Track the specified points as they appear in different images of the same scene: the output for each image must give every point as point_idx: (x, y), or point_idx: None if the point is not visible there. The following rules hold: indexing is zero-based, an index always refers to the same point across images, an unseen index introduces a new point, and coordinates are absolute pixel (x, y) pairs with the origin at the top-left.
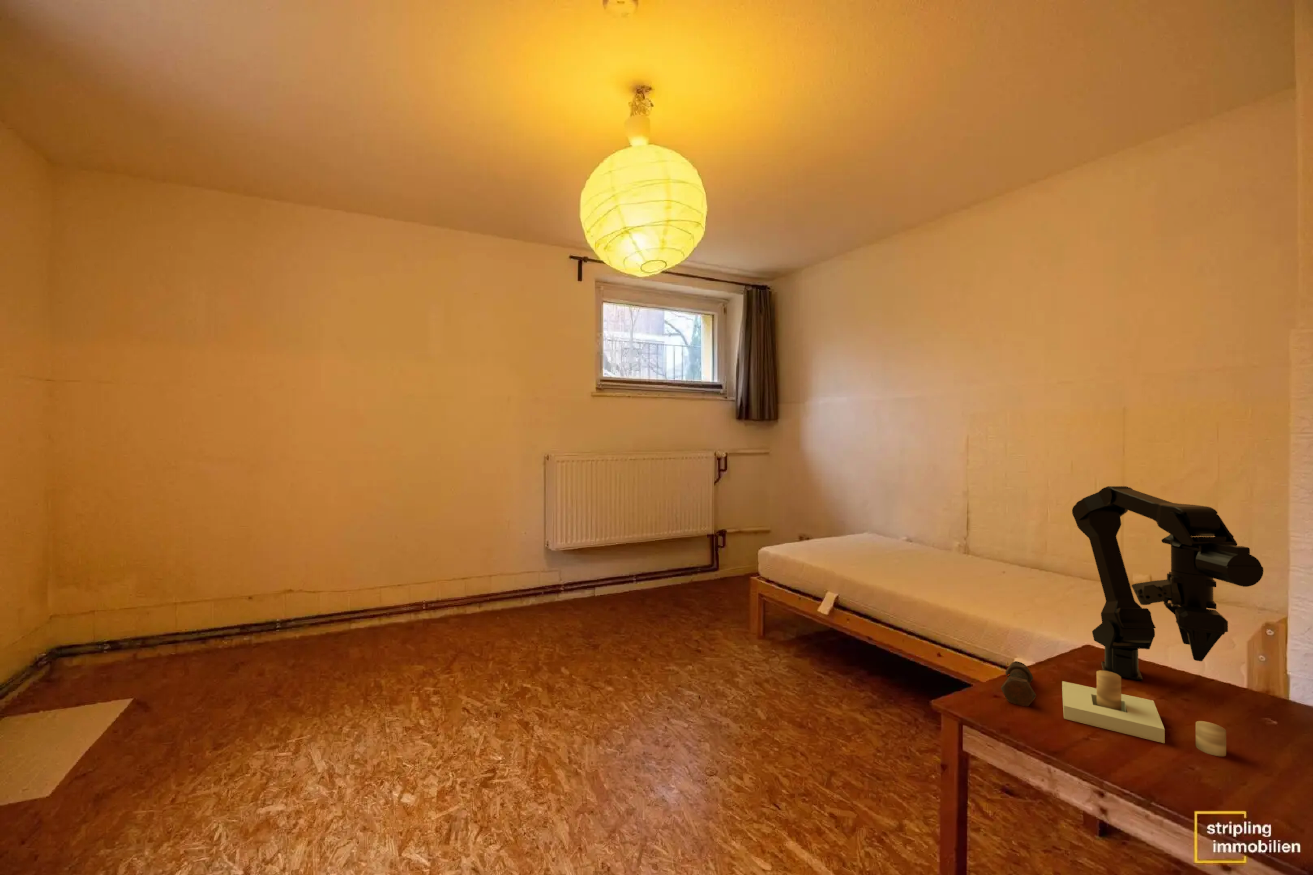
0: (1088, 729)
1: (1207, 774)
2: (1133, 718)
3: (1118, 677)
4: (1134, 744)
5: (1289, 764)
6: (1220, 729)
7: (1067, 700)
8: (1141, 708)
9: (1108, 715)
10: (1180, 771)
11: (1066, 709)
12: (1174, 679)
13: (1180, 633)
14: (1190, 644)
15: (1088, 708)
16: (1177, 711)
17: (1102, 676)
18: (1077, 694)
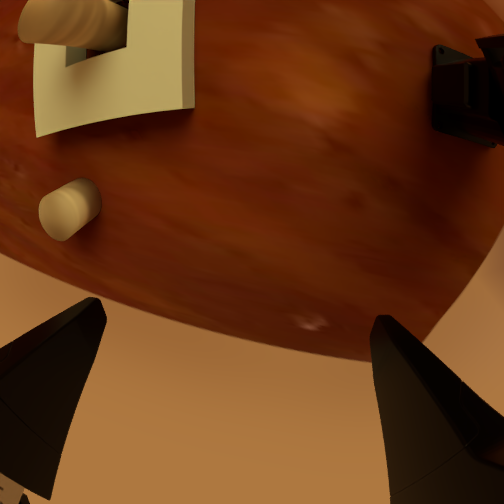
0: None
1: (15, 185)
2: (45, 83)
3: (31, 36)
4: (29, 93)
5: (123, 294)
6: (57, 232)
7: None
8: (105, 85)
9: (37, 45)
10: (3, 156)
11: None
12: (469, 212)
13: (414, 347)
14: (19, 337)
15: None
16: (251, 164)
17: (25, 7)
18: None
